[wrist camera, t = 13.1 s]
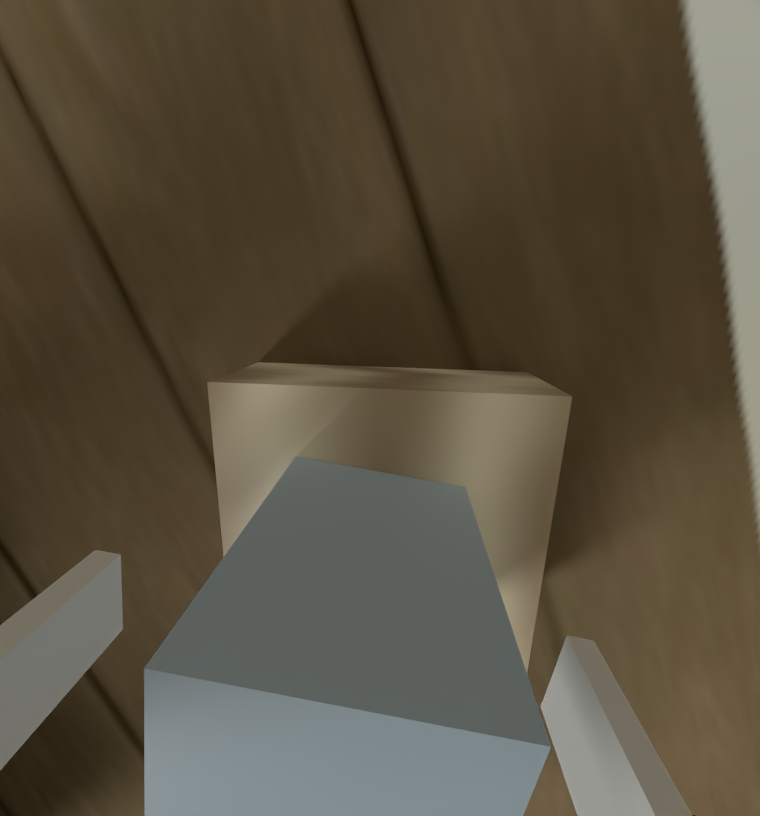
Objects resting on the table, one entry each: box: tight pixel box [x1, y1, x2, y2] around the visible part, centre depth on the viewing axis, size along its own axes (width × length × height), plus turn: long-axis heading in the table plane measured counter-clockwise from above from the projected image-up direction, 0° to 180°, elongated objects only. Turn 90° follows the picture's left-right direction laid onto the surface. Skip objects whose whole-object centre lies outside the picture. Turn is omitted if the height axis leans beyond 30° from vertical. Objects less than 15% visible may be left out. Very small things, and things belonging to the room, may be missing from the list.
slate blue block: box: [144, 456, 551, 816], centre depth 10 cm, size 6×6×8 cm
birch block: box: [207, 362, 572, 672], centre depth 16 cm, size 12×12×5 cm
